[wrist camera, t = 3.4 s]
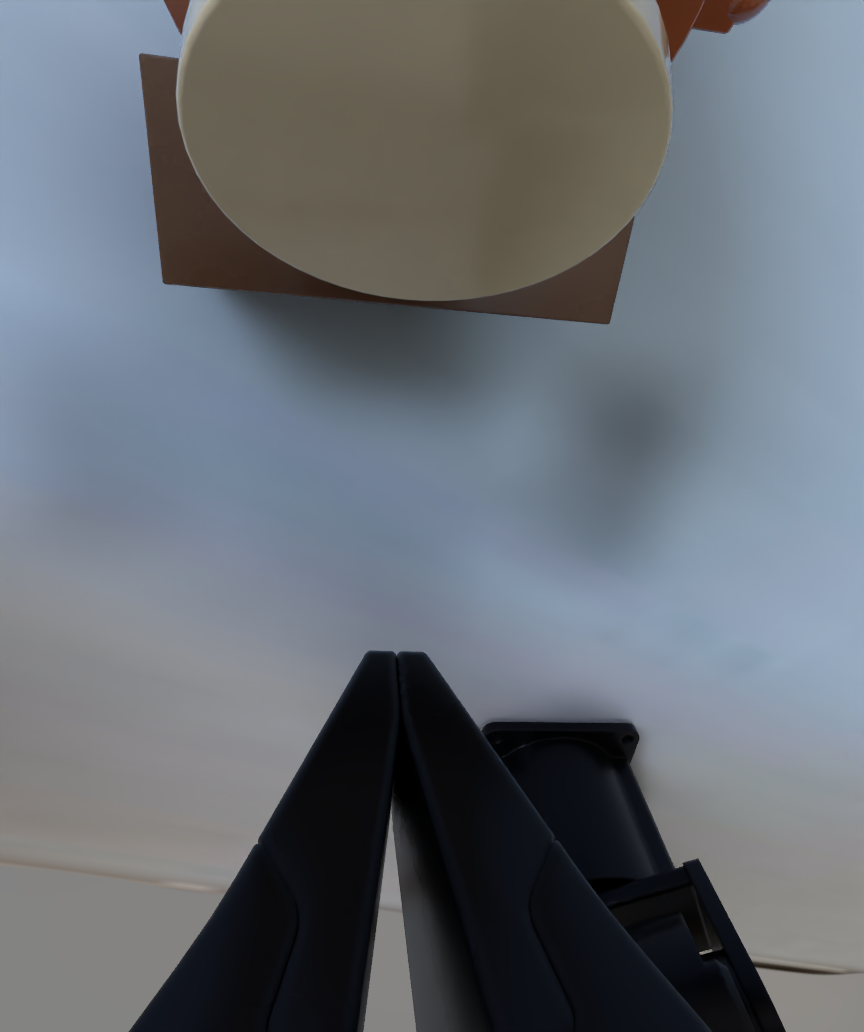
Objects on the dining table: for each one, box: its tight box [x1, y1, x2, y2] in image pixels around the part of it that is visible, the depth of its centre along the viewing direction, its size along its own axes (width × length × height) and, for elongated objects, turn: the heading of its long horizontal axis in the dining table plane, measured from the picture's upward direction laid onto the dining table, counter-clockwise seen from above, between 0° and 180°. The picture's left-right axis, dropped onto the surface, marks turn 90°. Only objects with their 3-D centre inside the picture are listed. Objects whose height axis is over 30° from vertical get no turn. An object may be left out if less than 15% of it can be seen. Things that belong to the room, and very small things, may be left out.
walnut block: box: [139, 54, 635, 324], centre depth 14 cm, size 10×4×3 cm, turn 84°
